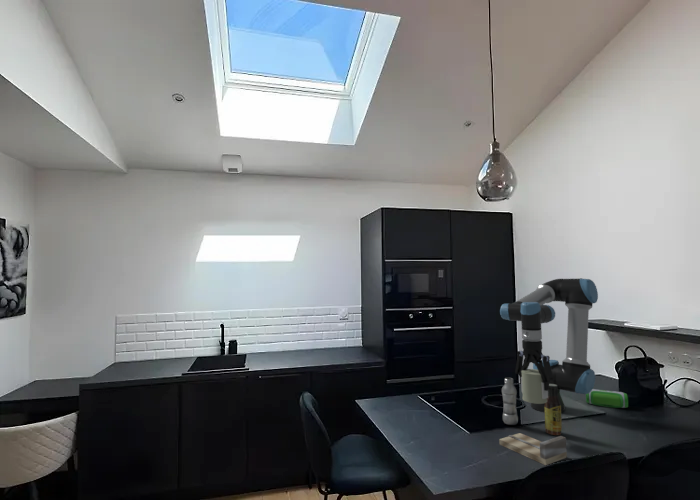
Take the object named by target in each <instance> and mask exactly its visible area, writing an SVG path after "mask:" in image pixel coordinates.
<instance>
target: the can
mask: <svg viewBox="0 0 700 500" xmlns="http://www.w3.org/2000/svg"><path fill="white" fill-rule="evenodd" d="M521 372H522V388H523V393H522V398H521V399H522V400H523V401H524V402H527V403H530V404H531V403H535V404H543V403H546V402H547V398H546V399H542V387H541V382H543V380H542V378H541V374H540V373H539V371H538V370H536V369H533V368H528V369H527V370H522V371H521Z"/></svg>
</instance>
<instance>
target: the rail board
mask: <svg viewBox="0 0 700 500" xmlns="http://www.w3.org/2000/svg"><path fill="white" fill-rule="evenodd" d="M498 441H499V446H502V447H504V448H506V449H509V450H510V451H512V452H515V453H518V454H519V455H522V456H524V457H527V458H529V459H531V460H533V461H535V462H537V463H540V464H542V465H544V466H548V465H551V464H553V463H555V462H558V461H561V460H564V459H566V458H567V457H568V454H567V438H566V437H565V436H563V435H557V436H556V437H553V438H550V439H547V440H544V441H541V440H538V439H535V438H534V437H531V436H528V435H525V434H524V433H520V432H519V433H515V434H509V435H508V436H506V437H503V438H499V440H498Z"/></svg>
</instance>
